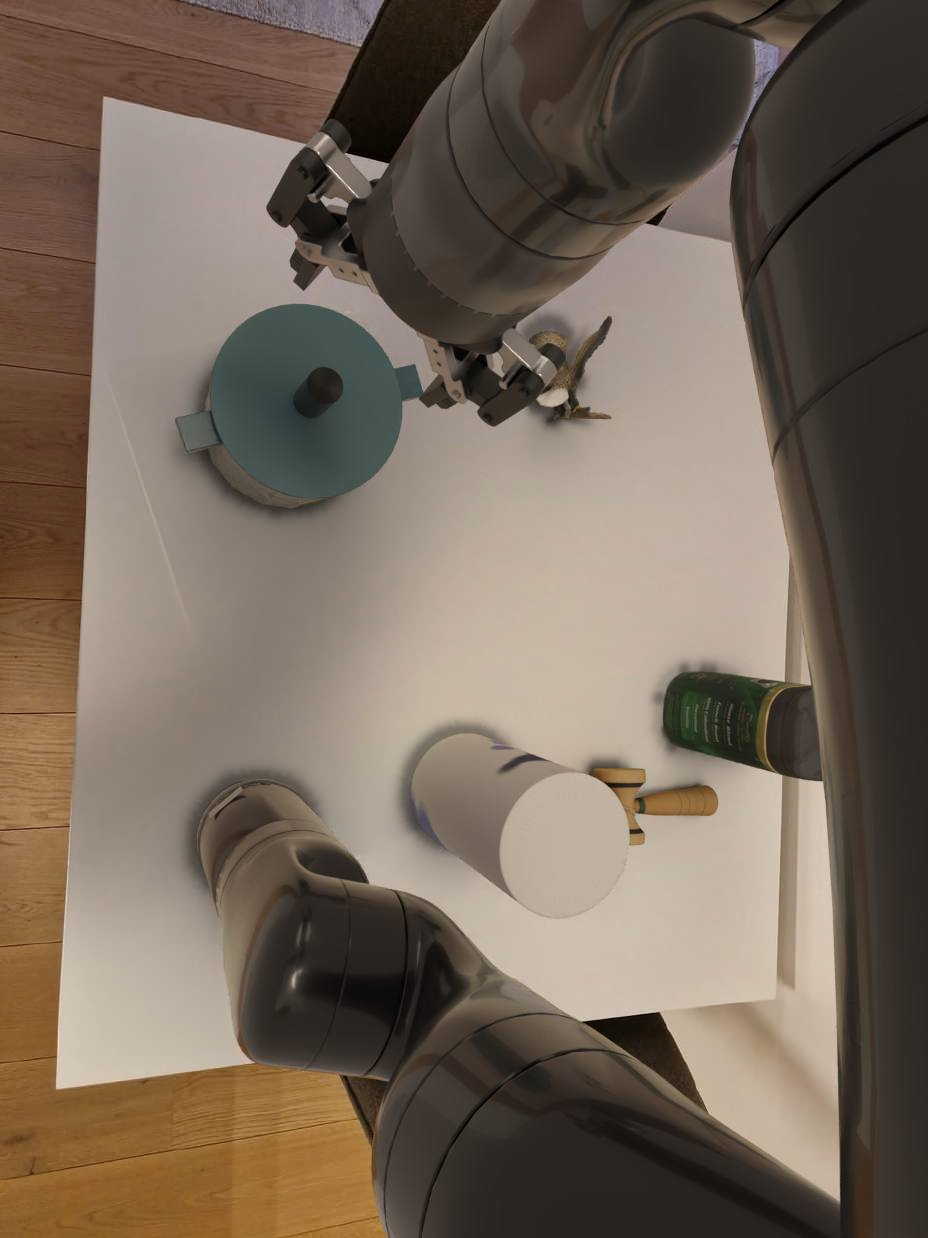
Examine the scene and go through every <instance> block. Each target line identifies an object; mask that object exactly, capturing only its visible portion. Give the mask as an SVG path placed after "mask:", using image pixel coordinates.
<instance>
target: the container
mask: <svg viewBox="0 0 928 1238" xmlns="http://www.w3.org/2000/svg"><path fill="white" fill-rule="evenodd" d="M410 803H411V808H412V812H413V814H414V817H415V819H416V821H417V822H418V825H419V826H420V827H421V829H422V830H423V831H424V832H425V833H426V834H427V835H429V837H431V838H432V839H433V840H435V841H436V842H437V843H439V844H440V845H441V846H443V847H444V848H445V849H447V851H450V852H451V854H453V855H455V856H456V857H457V858H458V859H460V860H461V861H463V862H464V863H465V864H466V865H468V866H469V867H470V868H472V869H473V870H474V871H476V872H477V873H478V874H480V875H481V876H482V877H483V878H485V879H487V881H489V882H490V883H492V884H493V885H494V886H495V887H497V888H498V889H499V890H501V891H502V892H503V893H505V894H506V895H507V896H509V898H510V899H513V900H514V901H515V902H517V903H518V904H519V905H521V906H522V907H523V908H525V910H528V911H529V912H531V913H533V914H534V915H537V916H540V917H543V918H548V919H557V920H558V919H559V920H560V919H569V918H573V917H576V916H579V915H581V914H584V913H587V912H588V911H590V910H592V909H594V907H596V906H597V905H599V904H600V903H601V902H602V901H603V900H604V899H606V897H607V896H609V894H610V893H611V892H612V890H614V888H615V886H616V885H617V884H618V882H619V880H620V878H621V876H622V874H623V872H624V870H625V866H626V863H627V860H628V856H629V851H630V845H629V842H630V834H629V825H628V820H627V816H626V813H625V810H624V808H623V806H622V804H621V802H620V800H619V799H618V797H617V796H616V794H615V793H614V792H613V791H612V790H611V789H610V788H609V787H608V786H607V785H606V784H604V783H603V782H602V781H600V780H598V779H597V778H594V777H593V776H592V775H589V774H587V773H584V772H582V771H579V770H576V769H574V768H572V767H571V768H570V767H568V766H565V765H563V764H561V763H557V762H554V761H552V760H549V759H546V758H544V757H541V756H538V755H536V754H533V753H530V752H528V751H525V750H522V749H520V748H517V747H514V746H511V745H508V744H506V743H503V742H500V741H498V740H495V739H493V738H490V737H487V736H484V735H481V734H477V733H472V732H468V733H467V732H464V733H457V734H452V735H450V736H447V737H445V738H443V739H441V740H440V741H438V742H436V743H434V744H433V746H431V747H430V748H429V749H428V750H427V751H426V752H425V754H424V755H423V756H422V757H421V759H420V761H419V762H418V764H417V766H416V768H415V771H414V773H413V775H412V780H411V785H410Z"/></svg>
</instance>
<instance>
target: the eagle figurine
mask: <svg viewBox="0 0 928 1238" xmlns="http://www.w3.org/2000/svg"><path fill="white" fill-rule="evenodd" d="M612 324H613V317H612V315H608V316H606V318H605V319H604V320H603V321H602V324H601V325H599V328H598V330H596V331H594V333H592V334H591V335H590V336H588V338H587V339H586V340H584V342H583V343H582V345H581V347H580V348H579V350H578V352H577V354H576V355H575V357H574V360H573V362H572V364H571V367H570V369H569V365H568V359H567V357H568V356H567V353H568V350H567V349H568V344H569V340H570V337H569V336H568V335H565V334H563V333H559V332H557V331H553V330H544V331H539V332H538V333H535V334H532V336H531V338H529V341H528V342H529V343H530V344H533V345H534V346H536V348H537V350H538V349H539V348H540V347H542V346H543V345H544V344H546V343H552V344H554V345H556V346H558V347H559V348H560V349H561V350H562V351H563V352H564V354H565V356H566V362H565V363H564V364H563V365H562V367H561V368H560V369H559V371H558V372H557V373H556V375H555V376H554V377H553V379H552V380H551V381H550V382H549V384H548V385H547V386H546V387H547V388H549V390H547V391H545V392H544V393H541V394H540V395H539V396H538V398H537V399H536V401H537V403H538V404H539V406H541V407H545V408H555V407H556V408H557V410H556V411H555V412H554V415H553V418H552V419H553V420H555V421H557V420H558V419H562V418H563V419H565V420H568V419H582V420H612V418H613V417H612V416H611V415H610V414H607V413H603V412H595V411H593V412H591V409H592V408H591V406H585V407H582V406H581V405H580V402H579V400H578V398H577V390H578V388H579V386H580V384H581V380H582V378H583V376H584V374H585V371H586V370H585V367H586V363H587V362H588V360H589V359H590V358H592V357H593V354H594V353H595V351H597V350H598V348H599V347H600V346H601V345H603V344H604V342H605V340H606V339H607V335H608V333H609V332H610V328H611V327H612ZM565 402H567V403H568V406H569V407H565Z"/></svg>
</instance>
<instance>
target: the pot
mask: <svg viewBox="0 0 928 1238" xmlns="http://www.w3.org/2000/svg"><path fill="white" fill-rule="evenodd" d="M393 368H394V367H393ZM394 370H395V373H396V376H397V378H398V381H399V386H400V390H401V396H402V403H404V402H409V401H413V400H417V399H419V398H420V396H421V395H422V394H423V392H424V390H423V387H422V383H421V379H420V375H419V372H418V369H417V365H416V363H412V364H408V365H403V366H399V367H395V368H394ZM209 392H210V390H208V393H207V395H206V399H205V402H204V411H199V412H195V413H191V414H185V415H183V416H181V415H180V416H177V417H175V418H174V424H175V427H176V430H177V433H178V436H179V439H180V442H181V446H182V448H183V449H182V450H183V452H184V454H185V455H188V454H192V453H195V452H199V451H205V450H208V453H209V456H210V460H211V463H212V464H213V466H214V467H215V468H216V469H217V471H218V472H219V473H220V474H221V475H222V476H223V478H224V480H226V482H227V483H228V484H229V485H230V487H232V488H233V489H234V490H236V491H237V492H239V493H241V494H243V495H244V496H247V497H248V498H250V499H252V500H254V501H255V502H257V503H259V504H261V505H265V506H274V507H282V508H290V509H295V508H298V507H301V506H305V505H308V504H312V503H317V502H321V501H322V500H323V499H301V498H295V497H291V496H286V495H283V494H281V493H278V492H275V491H273V490H271V489H269V488H267V487H265V486H263V485H261V484H260V483H258V482H257V481H255V480H254V479H252V478H251V477H250V476H249V475H247V474H246V473H245V472H244V471H243V470H242V469H241V468H240V467H239V466H238V465H237V464H236V463H235V462H234V461H233V459H232V458H231V457H230V455H229V454H228V452H227V451H226V450H225V448H224V446H223V444H222V442H221V440H220V439H219V436H218V434H217V431H216V429H215V426H214V423H213V419H212V415H211V409H210V400H209Z"/></svg>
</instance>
